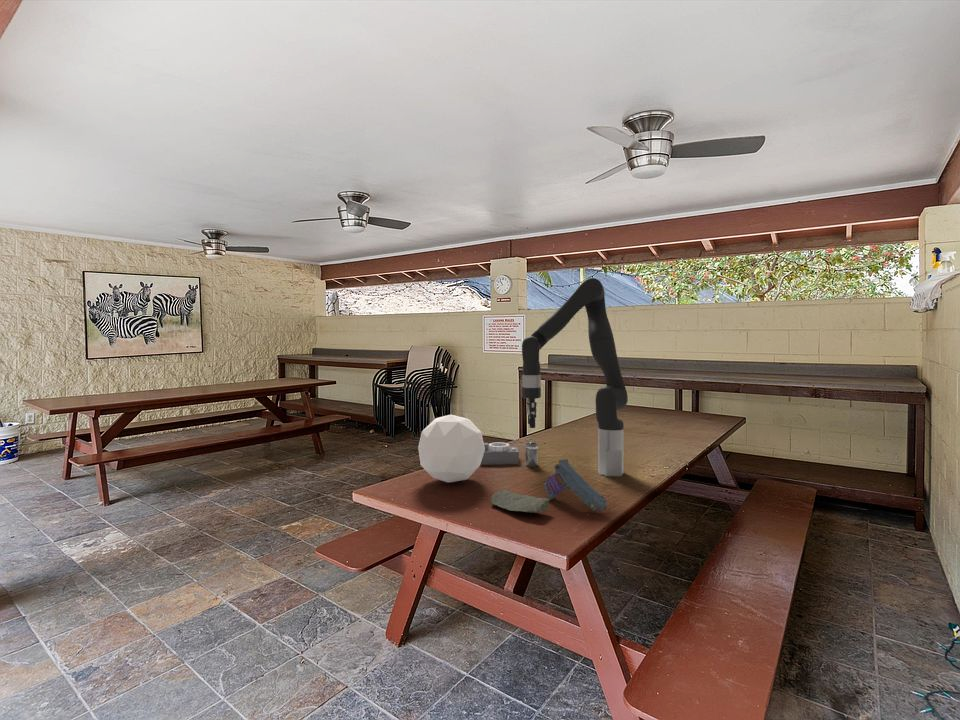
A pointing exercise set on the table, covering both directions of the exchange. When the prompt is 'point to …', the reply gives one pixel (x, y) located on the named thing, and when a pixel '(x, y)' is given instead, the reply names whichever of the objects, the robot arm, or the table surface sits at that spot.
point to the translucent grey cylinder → (531, 454)
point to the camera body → (500, 454)
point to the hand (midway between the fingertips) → (531, 426)
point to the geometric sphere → (451, 448)
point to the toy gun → (573, 486)
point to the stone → (519, 502)
